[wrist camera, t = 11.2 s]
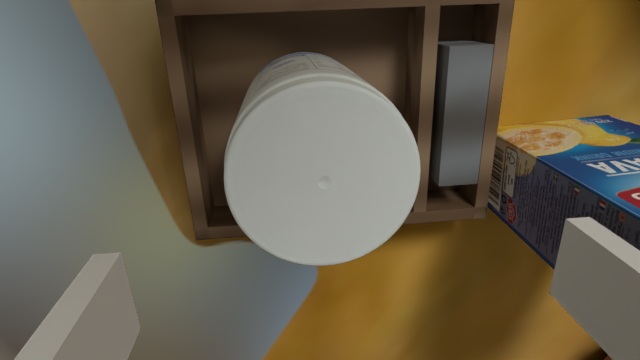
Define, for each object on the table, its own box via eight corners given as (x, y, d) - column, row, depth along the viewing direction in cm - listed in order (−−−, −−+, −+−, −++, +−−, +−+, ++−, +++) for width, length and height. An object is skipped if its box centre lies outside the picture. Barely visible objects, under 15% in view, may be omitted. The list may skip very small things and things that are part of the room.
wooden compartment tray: (172, 0, 30) (150, -2, 25) (485, -11, 31) (524, -15, 26) (205, 213, 36) (193, 246, 31) (462, 194, 38) (490, 223, 33)
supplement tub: (326, 188, 35) (356, 299, 22) (222, 137, 33) (183, 228, 19) (387, 87, 33) (465, 143, 19) (279, 23, 30) (280, 35, 16)
